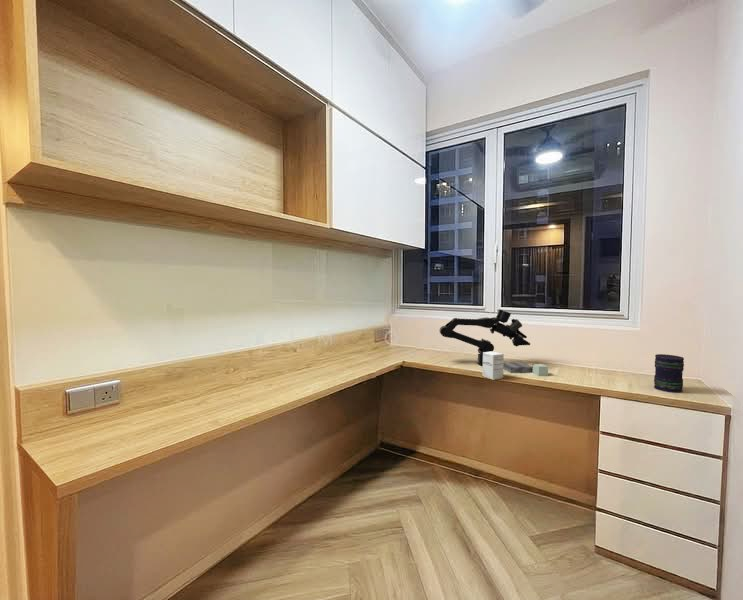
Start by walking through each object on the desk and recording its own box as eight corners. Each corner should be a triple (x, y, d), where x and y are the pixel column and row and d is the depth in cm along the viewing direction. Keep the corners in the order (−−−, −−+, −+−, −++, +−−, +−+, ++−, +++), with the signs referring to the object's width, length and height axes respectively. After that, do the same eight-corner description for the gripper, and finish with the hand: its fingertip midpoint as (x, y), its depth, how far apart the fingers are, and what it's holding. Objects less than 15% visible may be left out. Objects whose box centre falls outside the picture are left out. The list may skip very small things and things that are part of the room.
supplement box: (481, 376, 174) (482, 352, 174) (492, 374, 177) (493, 350, 177) (492, 380, 168) (493, 354, 167) (503, 378, 171) (504, 353, 170)
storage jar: (669, 386, 157) (671, 354, 156) (689, 393, 147) (690, 359, 146) (648, 386, 157) (649, 354, 156) (665, 392, 147) (667, 359, 146)
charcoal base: (510, 373, 180) (511, 367, 180) (500, 367, 192) (501, 362, 192) (532, 372, 181) (532, 367, 181) (521, 367, 193) (521, 361, 193)
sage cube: (538, 376, 174) (538, 366, 174) (533, 373, 179) (533, 364, 179) (547, 376, 175) (548, 366, 175) (542, 373, 180) (542, 364, 180)
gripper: (513, 324, 185) (540, 336, 184) (507, 312, 202) (532, 323, 202) (503, 340, 189) (529, 352, 189) (498, 327, 207) (522, 338, 206)
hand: (528, 340), depth 196 cm, fingers open, 9 cm apart
